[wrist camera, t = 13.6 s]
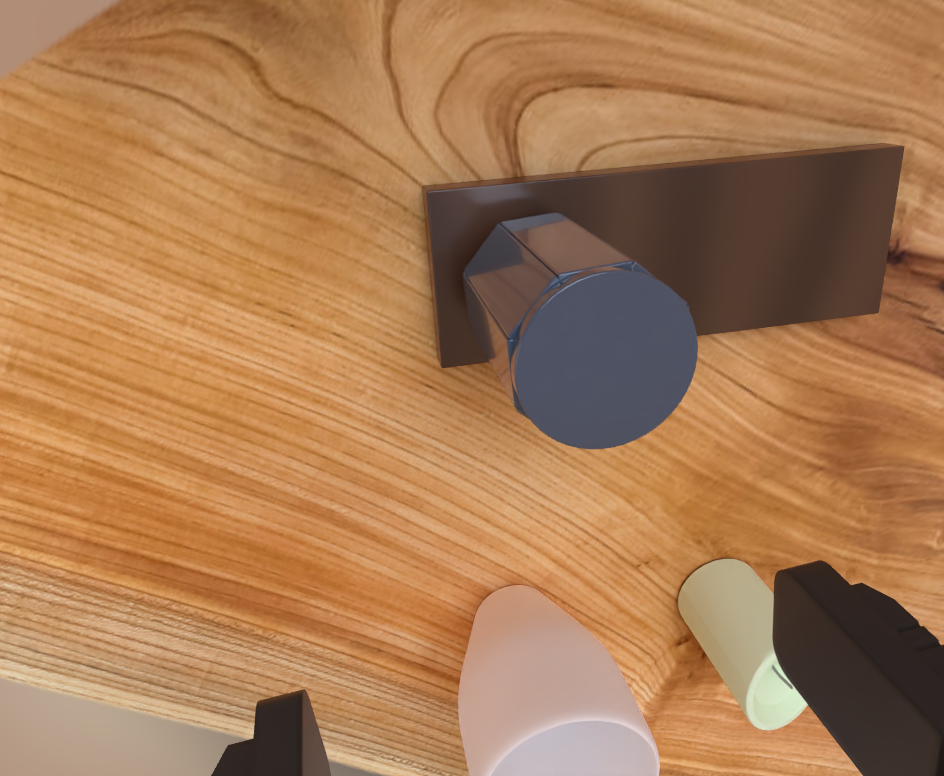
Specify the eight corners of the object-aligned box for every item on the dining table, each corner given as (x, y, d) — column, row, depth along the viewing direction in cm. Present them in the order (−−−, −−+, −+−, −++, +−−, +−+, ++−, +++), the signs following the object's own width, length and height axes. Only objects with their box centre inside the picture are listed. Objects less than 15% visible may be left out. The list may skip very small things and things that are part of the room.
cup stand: (437, 357, 36) (485, 483, 26) (422, 185, 33) (470, 245, 22) (859, 305, 39) (1064, 397, 29) (883, 142, 36) (1123, 177, 25)
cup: (436, 305, 32) (475, 390, 24) (525, 185, 30) (599, 230, 22) (545, 379, 34) (615, 480, 26) (632, 270, 33) (735, 339, 24)
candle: (741, 542, 44) (826, 639, 37) (766, 601, 46) (851, 704, 39) (664, 583, 44) (733, 688, 37) (692, 639, 46) (763, 750, 39)
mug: (447, 553, 41) (489, 720, 31) (594, 553, 43) (681, 711, 32) (425, 724, 45) (456, 920, 35) (560, 718, 47) (626, 903, 37)
